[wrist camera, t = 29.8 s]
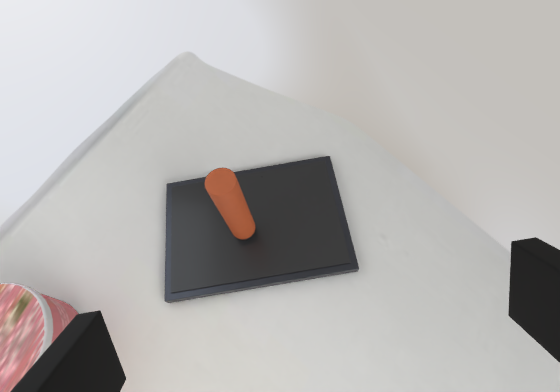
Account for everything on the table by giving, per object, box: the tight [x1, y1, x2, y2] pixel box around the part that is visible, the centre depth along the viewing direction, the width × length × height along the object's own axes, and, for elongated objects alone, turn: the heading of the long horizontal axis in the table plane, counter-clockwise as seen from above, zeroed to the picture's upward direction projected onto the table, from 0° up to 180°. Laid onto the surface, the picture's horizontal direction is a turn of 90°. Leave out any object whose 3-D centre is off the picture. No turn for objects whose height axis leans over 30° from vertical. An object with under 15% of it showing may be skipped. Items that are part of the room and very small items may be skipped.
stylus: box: [205, 168, 255, 241], centre depth 32 cm, size 3×3×11 cm
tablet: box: [165, 156, 359, 303], centre depth 38 cm, size 20×14×1 cm
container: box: [0, 283, 78, 392], centre depth 30 cm, size 10×10×8 cm
